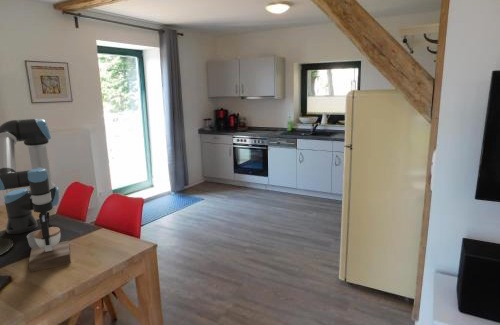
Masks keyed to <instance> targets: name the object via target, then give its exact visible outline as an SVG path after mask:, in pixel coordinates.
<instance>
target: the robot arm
mask: <svg viewBox="0 0 500 325" xmlns="http://www.w3.org/2000/svg"><path fill="white" fill-rule="evenodd" d="M51 136H52V135H51V133H50V129H49V126H48V123H47V121H46V120H45V119H44V118H30V119H29V118H27V119H26V118H25V119H12V120H8V121H6V122H3V123H2V124H0V191H5V190H11V189H13V190H12V191H9V192H7V193H6V194H4V196H3V197H4V198H3V199H4V204H5V205H4V206H5V210H6V215H7V222H6V227H5V230H6V233H7V234H9V235H19V234H23V233H27V232H31V231H33V230H35V229H36V228H37V227H38V221H37V220H36V217H34V215H33V212H34V213H37V214H38V213H39V215H38V218H39V222H40V223H39V224H40V226H41V228H40V229H42V236H43V238H41V239H43V240H44V246H45V252H47V251H52V245H51V239H50V235H49V227H53V224H52V223H51V220H50V219H51V217H50V211H51V210H53V208H54V207H56V206H58V204H59V199H60V195H59V192H60V191H59V186H56V184H55V183H54V182H53V181H52V177H51V176H52V175H51V174H52V173H51V170H50V162H49V156H48V148H47V145H48V144H49V142H50V141H49V140H51V139H52V137H51ZM17 142H23V144H24V146H25V147H27V149H28V154H29V160H30V161H29V162H30V165H31V169H29V170H21V171H17V166H16V150H15V145H16V144H17ZM26 187H29V189H28V188H26Z"/></svg>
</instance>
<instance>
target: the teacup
mask: <svg viewBox="0 0 500 325" xmlns="http://www.w3.org/2000/svg"><path fill="white" fill-rule="evenodd" d="M38 230H39V229H37V230H35V231H32V232H31V231H30V233H28V234H27V235H26V239H27V242H28V245H29V247H30V248H31V249H32V248H35V247H39V246H37V244H36V242H35V239H34V233H35V232H36V231H38Z"/></svg>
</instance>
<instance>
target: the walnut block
mask: <svg viewBox="0 0 500 325" xmlns="http://www.w3.org/2000/svg"><path fill="white" fill-rule="evenodd" d="M71 263H72V258H71V244H70V240H66V241H65V240H64V241H61V242H60V241H59V243H58V244H57V246H56V247H54V248H52V251H47V252H45V250H44V249H42V248H40V247H35V248H31V250H30V255H29V259H28V268H29V272H30V273H32V272H38V271H42V270H45V269H46V270H48V269H50V268H54V267H55V268H56V267H60V266H63V265H67V264H68V265H69V264H71Z"/></svg>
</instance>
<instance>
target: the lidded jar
mask: <svg viewBox="0 0 500 325" xmlns="http://www.w3.org/2000/svg"><path fill="white" fill-rule="evenodd" d="M37 230H38V231H37ZM37 230H35V231H36V232H35V233H34V239H35V242H36V244H37V246H39V247H40V248H42V249H44V250H45V246H44V240H43V239H41V238H43V236H42V228H40V229H37ZM49 235H50V239H51V245H52V248H54V247H56V246H57V244H58V243H59V242H60V241H61V237H62V235H61V228H60V227H58V226H57V227H56V226H52V227H49Z"/></svg>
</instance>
